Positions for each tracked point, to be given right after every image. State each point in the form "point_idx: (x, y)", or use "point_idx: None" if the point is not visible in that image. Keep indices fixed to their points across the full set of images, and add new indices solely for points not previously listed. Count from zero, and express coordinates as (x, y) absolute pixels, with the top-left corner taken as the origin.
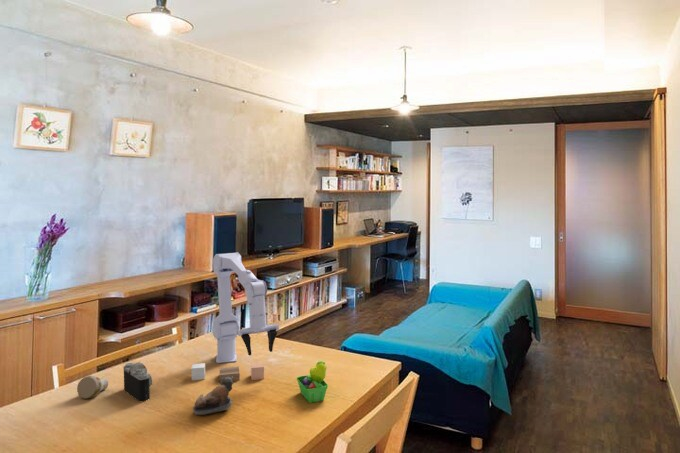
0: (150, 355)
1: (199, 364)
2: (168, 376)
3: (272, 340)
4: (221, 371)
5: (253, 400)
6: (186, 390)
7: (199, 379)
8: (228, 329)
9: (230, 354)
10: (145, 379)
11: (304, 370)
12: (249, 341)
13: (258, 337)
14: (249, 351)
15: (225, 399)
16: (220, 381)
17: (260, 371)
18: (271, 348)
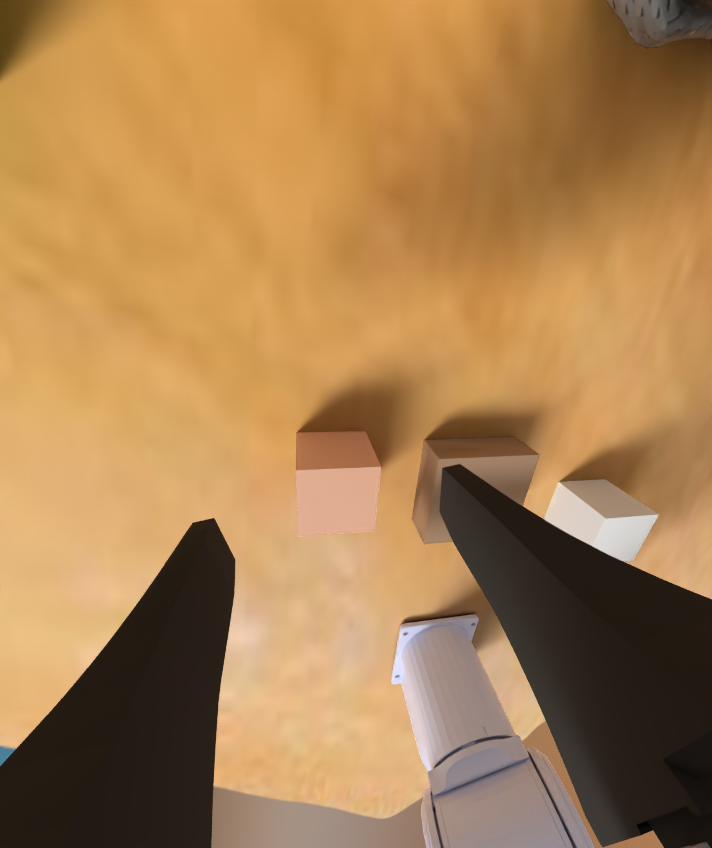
0: None
1: (609, 553)
2: (656, 527)
3: (105, 686)
4: (516, 496)
5: (400, 78)
6: (662, 380)
7: (578, 481)
8: (508, 839)
9: (434, 656)
10: None
11: (35, 501)
12: (611, 605)
13: (292, 786)
14: (489, 485)
15: None
16: (512, 438)
17: (319, 454)
18: (187, 549)
